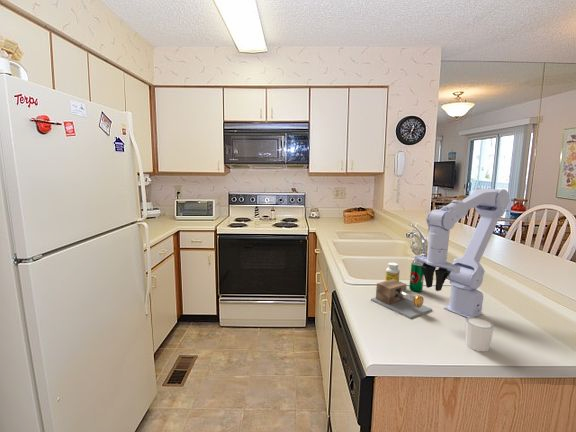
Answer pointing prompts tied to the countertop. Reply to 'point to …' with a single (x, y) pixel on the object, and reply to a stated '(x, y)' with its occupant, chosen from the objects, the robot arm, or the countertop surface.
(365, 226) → the countertop surface
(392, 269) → the supplement bottle
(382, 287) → the bearing block
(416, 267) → the soda can
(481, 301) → the robot arm
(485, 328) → the white cup
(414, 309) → the base plate
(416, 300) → the shaft
